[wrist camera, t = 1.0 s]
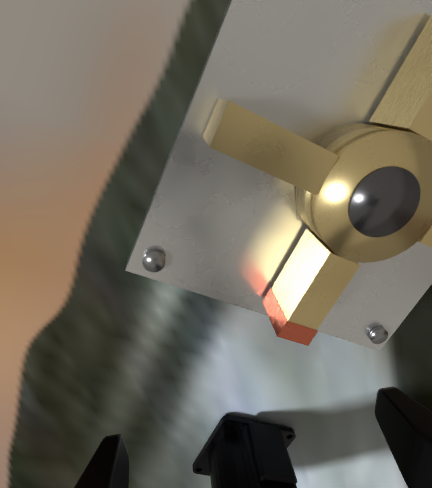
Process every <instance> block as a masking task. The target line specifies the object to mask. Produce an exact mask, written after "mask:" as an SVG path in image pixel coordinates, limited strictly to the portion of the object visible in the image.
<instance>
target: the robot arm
mask: <svg viewBox="0 0 432 488" xmlns="http://www.w3.org/2000/svg"><path fill="white" fill-rule="evenodd" d="M375 416H376V419H377V421H378V423H379V426H380V428H381V430H382V432H383V434H384V437H385V439H386V441H387V443H388V445H389V448H390V450H391V452H392V454H393V456H394V459H395V461H396V463H397V465H398V468H399V470H400V472H401V474H402V476H403V478H404V480H405V482H406V484H407V486H408V488H432V411H430V410H429V409H427V408H426V407H424V406H423V405H421V404H420V403H418V402H417V401H415V400H414V399H412V398H411V397H409V396H408V395H407V394H405V393H404V392H402V391H401V390H399V389H397V388H395V387H387V388H381V389H379V390H378V393H377V399H376V405H375ZM295 436H296V435H295V432H294V430H293V429H292V428H288V427H283V426H279V425H274V424H269V423H265V422H260V421H255V420H250V419H246V418H241V417H236V416H232V415H226V416H223V417H222V418H221V420H220V421H219V423H218V425H217V426H216V428H215V429H214V431H213V433H212V434H211V436H210V437H209V439H208V441H207V442H206V444H205V445H204V447H203V449H202V450H201V452H200V454H199V455H198V457H197V458H196V460H195V462H194V463H193V472H194V473H196V474H202V475H208V476H210V477H211V486H212V488H297V486H296V483H297V478H296V475H295V472H294V469H293V466H292V463H291V460H290V457H289V454H288V451H287V448H288V446H289V445H290V444H291V442H292V441H293V440H294V438H295ZM128 484H129V456H128V452H127V449H126V446H125V443H124V439H123V437H122V435H121V434H116V435H111V436H106V437H105V438H104V439H103V440H102V442H101V443H100V445H99V447H98V448H97V450H96V452H95V453H94V455H93V457H92V458H91V460H90V462H89V463H88V465H87V467H86V468H85V470H84V472H83V473H82V475H81V477H80V478H79V480H78V482H77V483H76V485H75V487H74V488H128Z"/></svg>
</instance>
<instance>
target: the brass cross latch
mask: <svg viewBox="0 0 432 488" xmlns="http://www.w3.org/2000/svg"><path fill="white" fill-rule="evenodd" d="M370 122H371V123H373V124H375V125H371V124H352V125H347V126H344V127H340V128H338V129H336V130H334V131H332V132H330V133H328V134H327V135H325V136H324V137H323V138H321V139H320V140H319V141H318V142H317V143H316V144H314V143H312V142H310V141H308V140H306V139H304V138H302V137H301V136H299V135H297V134H295V133H293V132H291V131H289V130H287V129H285V128H283V127H281V126H279V125H277V124H275V123H273V122H271V121H269V120H267V119H265V118H263V117H261V116H259V115H257V114H255V113H253V112H251V111H249V110H247V109H245V108H243V107H241V106H239V105H237V104H235V103H233V102H231V101H228V100H224V99H220V98H218V101H217V103H216V106H215V108H214V110H213V113H212V115H211V117H210V120H209V122H208V125H207V127H206V129H205V132H204V134H203V138H204V140H205V141H206V143H207V144H208V146H209V147H210V148H212V149H215V150H217V151H219V152H221V153H223V154H226V155H228V156H230V157H232V158H234V159H237V160H239V161H241V162H243V163H246V164H248V165H250V166H252V167H254V168H257V169H259V170H261V171H263V172H265V173H268V174H270V175H272V176H274V177H277V178H279V179H281V180H283V181H285V182H288V183H290V184H292V185H294V200H295V205H296V208H297V211H298V213H299V215H300V217H301V219H302V220H303V221H304V223H305V224H306V225H307V226H308V227H309V228H310V229H311V230H309V229H307V228H306V230H305V232H304V234H303V235H302V237H301V239H300V240H299V242H298V244H297V246H296V247H295V249H294V251H293V252H292V254H291V256H290V258H289V259H288V261H287V263H286V264H285V266H284V268H283V270H282V271H281V273H280V275H279V276H278V278H277V280H276V282H275V283H274V285H273V287H272V288H270V289H269V291H268V293H267V295H266V296H265V298H264V300H263V301H262V302H263V305H264V307H265V309H266V312H267V314H268V316H269V318H270V321H271V323H272V325H273V328H274V330H275V332H276V335H277V337H281V338H284V339H287V340H291V341H294V342H297V343H301V344H304V345H307V346H308V345H309V344H310V342H311V341H312V339H313V338H314V336H315V335H316V333H317V332H318V331H317V329H318V328H319V326H320V325H321V323H322V322H323V320H324V319H325V317H326V316H327V314H328V313H329V311H330V310H331V308H332V307H333V305H334V304H335V302H336V301H337V299H338V298H339V296H340V295H341V294H342V292H343V291H344V289H345V288H346V286H347V285H348V283H349V282H350V280H351V279H352V277H353V276H354V274H355V273H356V271H357V270H358V268H359V267H360V264H359V263H358V262H362V263H370V262H378V261H382V260H386V259H389V258H392V257H394V256H396V255H398V254H400V253H402V252H404V251H406V250H407V249H409V248H410V247H411V246H413V245H414V244H415V243H416V242H418V241H419V242H421V243H423V244H425V245H427V246H429V247H432V14H431V16H430V18H429V20H428V21H427V23H426V25H425V26H424V28H423V30H422V32H421V33H420V35H419V37H418V38H417V40H416V42H415V44H414V45H413V47H412V49H411V50H410V52H409V54H408V56H407V57H406V59H405V61H404V62H403V64H402V66H401V68H400V69H399V71H398V73H397V74H396V76H395V78H394V80H393V81H392V83H391V85H390V86H389V88H388V90H387V92H386V93H385V95H384V97H383V98H382V100H381V102H380V103H379V105H378V107H377V109H376V110H375V112H374V114H373V115H372V117H371V119H370ZM376 125H377V126H376Z"/></svg>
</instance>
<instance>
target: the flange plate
mask: <svg viewBox="0 0 432 488" xmlns="http://www.w3.org/2000/svg"><path fill="white" fill-rule="evenodd" d="M431 14H432V0H230V1H229V4H228V6H227V9H226V11H225V14H224V17H223V19H222V22H221V24H220V27H219V29H218V32H217V34H216V37H215V39H214V42H213V45H212V47H211V50H210V52H209V55H208V57H207V60H206V62H205V65H204V67H203V70H202V72H201V75H200V78H199V80H198V83H197V85H196V88H195V90H194V93H193V95H192V98H191V100H190V103H189V106H188V108H187V111H186V113H185V116H184V118H183V121H182V123H181V126H180V128H179V131H178V134H177V136H176V139H175V141H174V144H173V146H172V149H171V151H170V154H169V156H168V159H167V161H166V164H165V167H164V169H163V172H162V174H161V177H160V179H159V182H158V184H157V187H156V189H155V192H154V195H153V197H152V200H151V202H150V205H149V207H148V210H147V212H146V215H145V217H144V220H143V222H142V225H141V228H140V230H139V233H138V235H137V238H136V240H135V243H134V245H133V248H132V250H131V253H130V256H129V258H128V261H127V265H126V270H125V271H129V272H132V273H135V274H138V275H141V276H144V277H148V278H151V279H154V280H157V281H160V282H164V283H167V284H170V285H173V286H176V287H179V288H183V289H186V290H189V291H192V292H195V293H198V294H202V295H205V296H208V297H211V298H214V299H217V300H221V301H224V302H227V303H230V304H233V305H236V306H240V307H243V308H246V309H249V310H252V311H256V312H259V313H262V314H265V315H268V314H267V312H266V309H265V307H264V305H263V302H262V301H263V300H264V298H265V296H266V295H267V293H268V291H269V289H270V288H272V287H273V285H274V283H275V282H276V280H277V278H278V276H279V275H280V273H281V271H282V270H283V268H284V266H285V264H286V263H287V261H288V259H289V258H290V256H291V254H292V252H293V251H294V249H295V247H296V246H297V244H298V242H299V240H300V239H301V237H302V235H303V234H304V232H305V230H306V228H307V229H309V230H311V229H310V228H309V227H308V226H307V225H306V224H305V223H304V221H303V220H302V219H301V217H300V215H299V213H298V211H297V208H296V205H295V200H294V185H292V184H290V183H288V182H285V181H283V180H281V179H279V178H277V177H274V176H272V175H270V174H268V173H265V172H263V171H261V170H259V169H257V168H254V167H252V166H250V165H248V164H246V163H243V162H241V161H239V160H237V159H234V158H232V157H230V156H228V155H226V154H223V153H221V152H219V151H217V150H215V149H212V148H210V147H209V146H208V144H207V143H206V141H205V140H204V138H203V134H204V132H205V129H206V127H207V125H208V122H209V120H210V117H211V115H212V113H213V110H214V108H215V106H216V103H217V101H218V98H220V99H224V100H228V101H231V102H233V103H235V104H237V105H239V106H241V107H243V108H245V109H247V110H249V111H251V112H253V113H255V114H257V115H259V116H261V117H263V118H265V119H267V120H269V121H271V122H273V123H275V124H277V125H279V126H281V127H283V128H285V129H287V130H289V131H291V132H293V133H295V134H297V135H299V136H301V137H302V138H304V139H306V140H308V141H310V142H312V143H314V144H316V143H317V142H318V141H319V140H320V139H321V138H323V137H324V136H325V135H327V134H328V133H330V132H332V131H334V130H336V129H338V128H340V127H344V126H347V125H352V124H371V125H375V124H373V123H371V122H370V119H371V117H372V115H373V114H374V112H375V110H376V109H377V107H378V105H379V103H380V102H381V100H382V98H383V97H384V95H385V93H386V92H387V90H388V88H389V86H390V85H391V83H392V81H393V80H394V78H395V76H396V74H397V73H398V71H399V69H400V68H401V66H402V64H403V62H404V61H405V59H406V57H407V56H408V54H409V52H410V50H411V49H412V47H413V45H414V44H415V42H416V40H417V38H418V37H419V35H420V33H421V32H422V30H423V28H424V26H425V25H426V23H427V21H428V20H429V18H430V16H431ZM376 126H377V125H376ZM358 263H359V264H360V267H359V268H358V270H357V271H356V273H355V274H354V276H353V277H352V279H351V280H350V282H349V283H348V285H347V286H346V288H345V289H344V291H343V292H342V294H341V295H340V296H339V298H338V299H337V301H336V302H335V304H334V305H333V307H332V308H331V310H330V311H329V313H328V314H327V316H326V317H325V319H324V320H323V322H322V323H321V325H320V326H319V328H318V329H317V331H319V332H322V333H325V334H329V335H332V336H335V337H338V338H341V339H344V340H348V341H351V342H354V343H357V344H360V345H363V346H367V347H370V348H373V349H376V350H379V351H380V350H381V348H382V347H383V346H384V345H385V343H386V342H387V341H388V339H389V338H390V337H391V336H392V334H393V333H394V332H395V330H396V329H397V328H398V327H399V325H400V324H401V323H402V321H403V320H404V319H405V318H406V316H407V315H408V314H409V312H410V311H411V310H412V309H413V307H414V306H415V305H416V303H417V302H418V301H419V300H420V298H421V297H422V296H423V294H424V293H425V292H426V291H427V289H428V288H429V287H430V285H431V284H432V247H429V246H427V245H425V244H423V243H421V242H419V241H418V242H416V243H415V244H414V245H413V246H411V247H410V248H409V249H407V250H406V251H404V252H402V253H400V254H398V255H396V256H394V257H392V258H389V259H386V260H382V261H378V262H370V263H362V262H358Z"/></svg>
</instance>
